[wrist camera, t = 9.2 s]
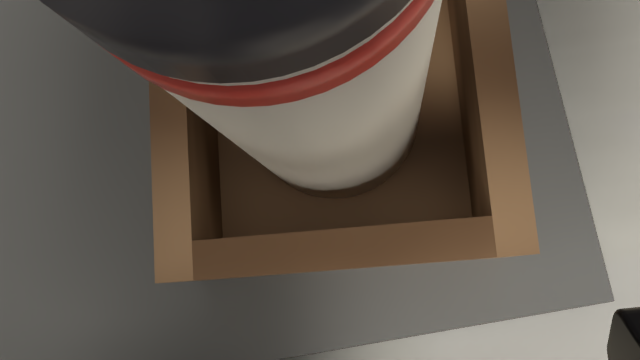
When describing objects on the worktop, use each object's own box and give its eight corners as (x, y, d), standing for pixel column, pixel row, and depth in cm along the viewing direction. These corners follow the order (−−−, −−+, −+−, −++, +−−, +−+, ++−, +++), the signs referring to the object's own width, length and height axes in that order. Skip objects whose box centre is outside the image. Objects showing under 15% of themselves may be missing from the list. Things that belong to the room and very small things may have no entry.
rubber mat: (498, -112, 20) (502, -128, 19) (604, 299, 18) (614, 301, 17) (-148, 37, 22) (-168, 28, 21) (-128, 427, 20) (-150, 434, 19)
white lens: (453, 104, 18) (619, -303, 5) (345, 234, 18) (225, 162, 5) (325, 7, 19) (182, -551, 6) (220, 130, 18) (-158, -167, 6)
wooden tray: (509, 257, 17) (539, 253, 14) (197, 280, 18) (154, 283, 15) (472, -40, 19) (491, -108, 16) (185, -5, 20) (144, -62, 16)
